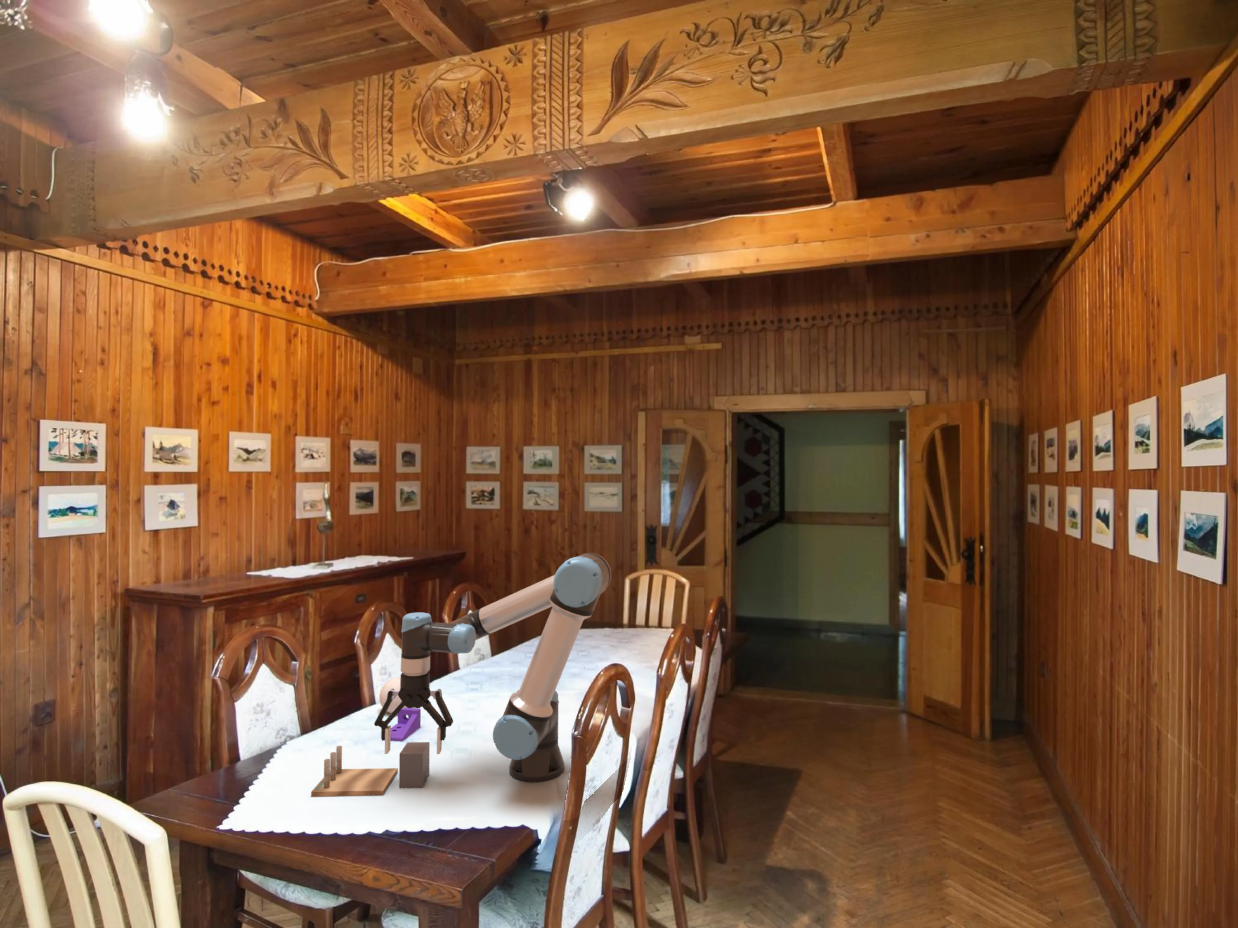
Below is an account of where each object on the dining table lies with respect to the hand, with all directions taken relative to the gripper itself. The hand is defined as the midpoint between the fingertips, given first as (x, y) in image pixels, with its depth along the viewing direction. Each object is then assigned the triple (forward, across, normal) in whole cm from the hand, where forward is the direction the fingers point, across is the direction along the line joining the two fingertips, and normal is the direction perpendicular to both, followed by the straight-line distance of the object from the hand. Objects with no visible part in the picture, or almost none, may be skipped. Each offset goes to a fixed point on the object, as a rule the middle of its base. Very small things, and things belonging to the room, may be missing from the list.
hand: (413, 752), depth 191 cm
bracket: (+9, +12, -35) cm, 38 cm away
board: (+8, +14, +1) cm, 17 cm away
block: (+8, 0, 0) cm, 8 cm away
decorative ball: (+8, +18, -56) cm, 59 cm away
